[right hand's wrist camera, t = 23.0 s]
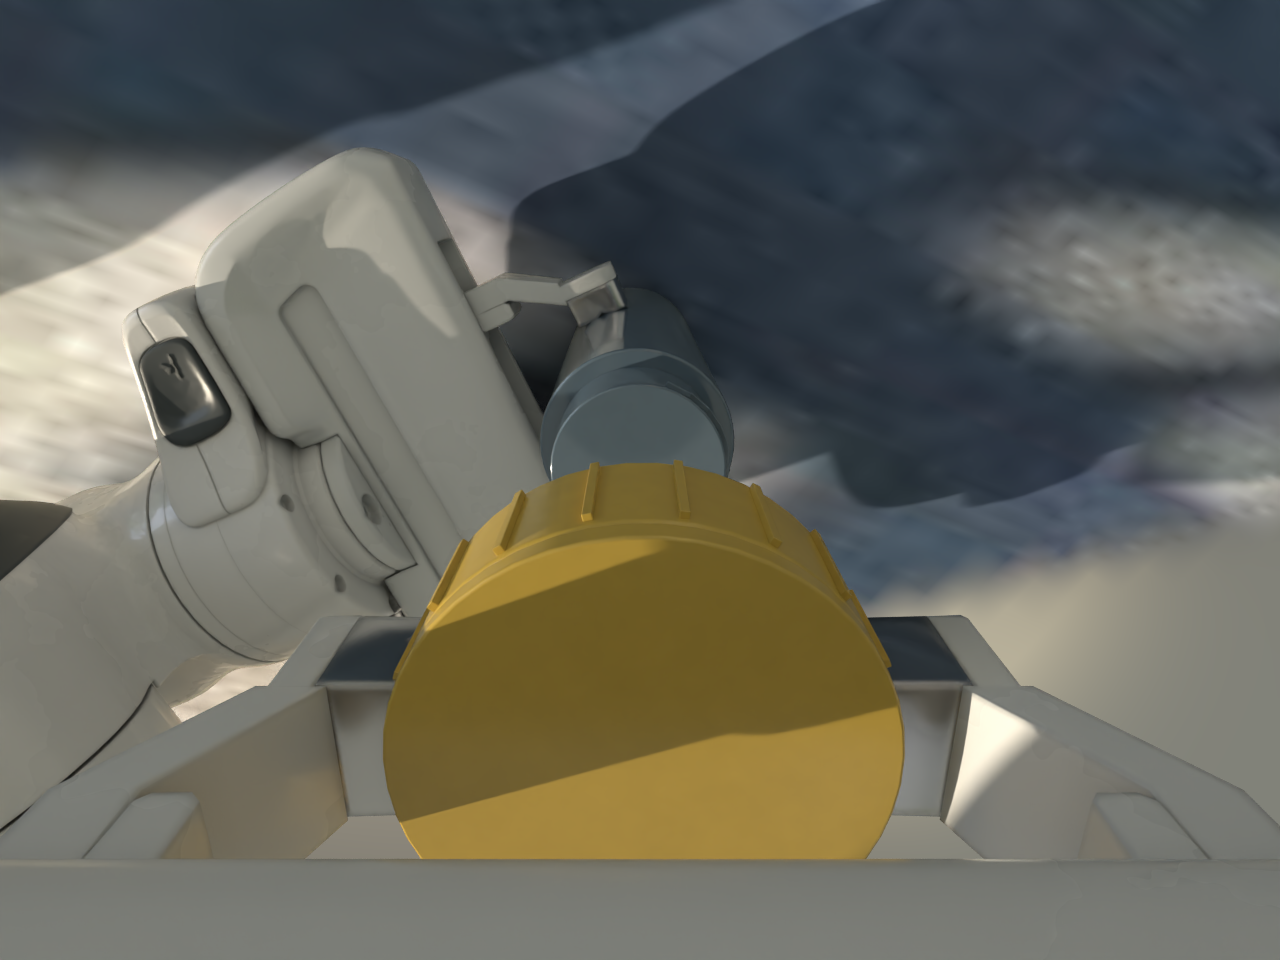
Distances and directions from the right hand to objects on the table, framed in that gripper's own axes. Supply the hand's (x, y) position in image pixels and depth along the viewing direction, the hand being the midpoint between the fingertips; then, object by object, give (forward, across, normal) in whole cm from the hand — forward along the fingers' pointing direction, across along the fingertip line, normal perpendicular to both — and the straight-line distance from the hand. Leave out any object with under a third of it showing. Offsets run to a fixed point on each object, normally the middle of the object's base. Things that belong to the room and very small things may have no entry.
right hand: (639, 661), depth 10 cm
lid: (-2, 0, 0) cm, 2 cm away
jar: (+24, 0, 0) cm, 24 cm away
